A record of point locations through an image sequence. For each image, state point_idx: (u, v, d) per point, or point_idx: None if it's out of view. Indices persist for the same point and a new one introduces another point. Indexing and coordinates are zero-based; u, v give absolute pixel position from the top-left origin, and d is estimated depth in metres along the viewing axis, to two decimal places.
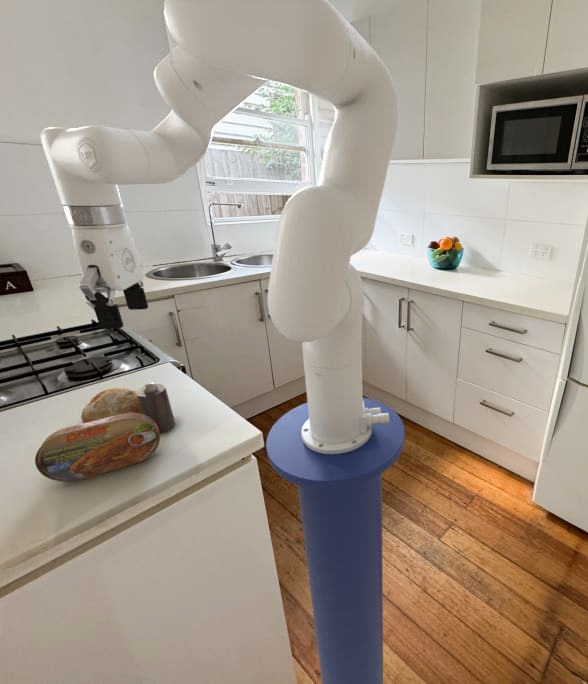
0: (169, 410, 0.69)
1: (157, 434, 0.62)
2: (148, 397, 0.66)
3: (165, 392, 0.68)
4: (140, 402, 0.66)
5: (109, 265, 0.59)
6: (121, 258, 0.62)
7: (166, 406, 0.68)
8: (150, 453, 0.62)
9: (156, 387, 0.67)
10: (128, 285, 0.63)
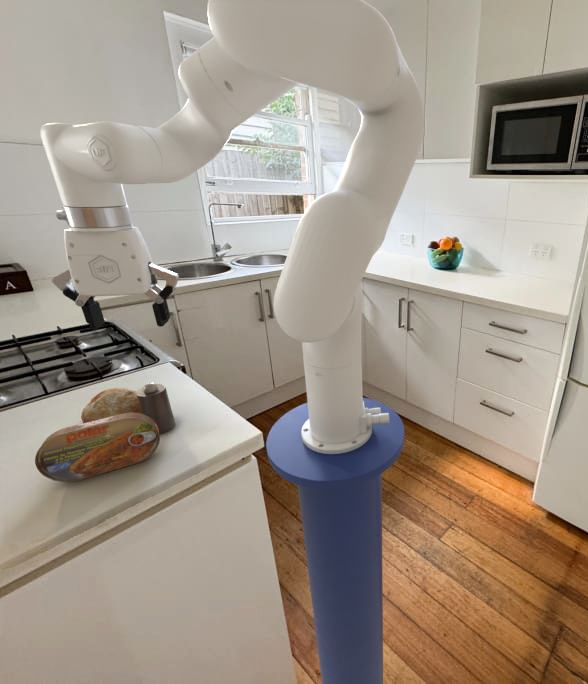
0: (169, 410, 0.69)
1: (157, 434, 0.62)
2: (148, 397, 0.66)
3: (165, 392, 0.68)
4: (140, 402, 0.66)
5: (69, 267, 0.57)
6: (88, 264, 0.56)
7: (166, 406, 0.68)
8: (150, 453, 0.62)
9: (156, 387, 0.67)
10: (95, 293, 0.58)
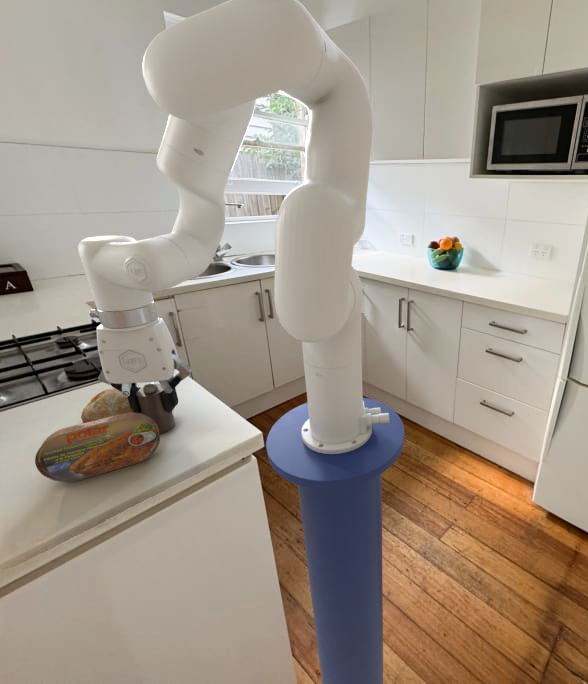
0: None
1: (157, 434, 0.62)
2: (148, 397, 0.66)
3: None
4: (140, 402, 0.66)
5: (100, 360, 0.61)
6: (117, 357, 0.61)
7: None
8: (150, 453, 0.62)
9: (156, 387, 0.67)
10: (124, 381, 0.63)
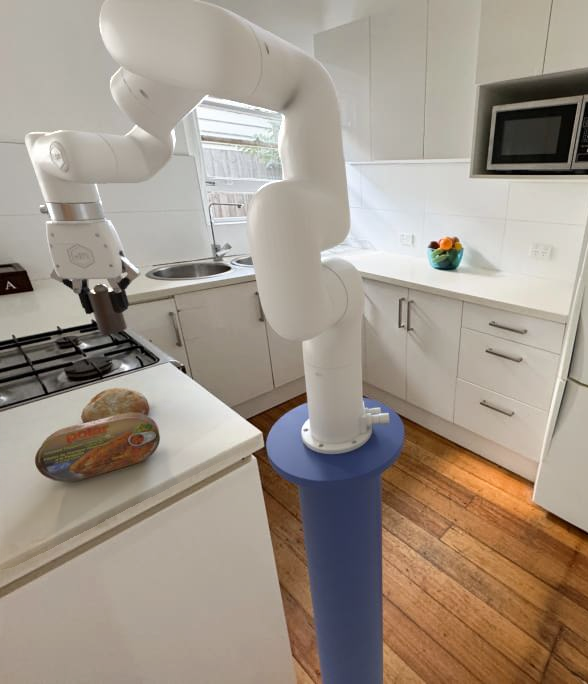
0: None
1: (157, 434, 0.62)
2: (97, 295, 0.71)
3: None
4: (90, 300, 0.71)
5: (50, 254, 0.66)
6: (66, 251, 0.66)
7: None
8: (150, 453, 0.62)
9: (106, 288, 0.72)
10: (73, 276, 0.68)
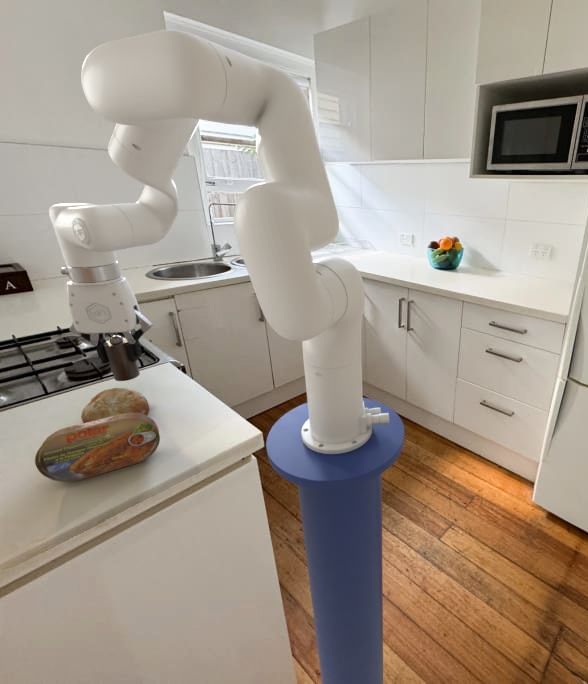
0: None
1: (157, 434, 0.62)
2: (113, 346, 0.75)
3: None
4: (106, 351, 0.76)
5: (70, 311, 0.71)
6: (85, 309, 0.71)
7: None
8: (150, 453, 0.62)
9: (121, 339, 0.77)
10: (91, 331, 0.73)
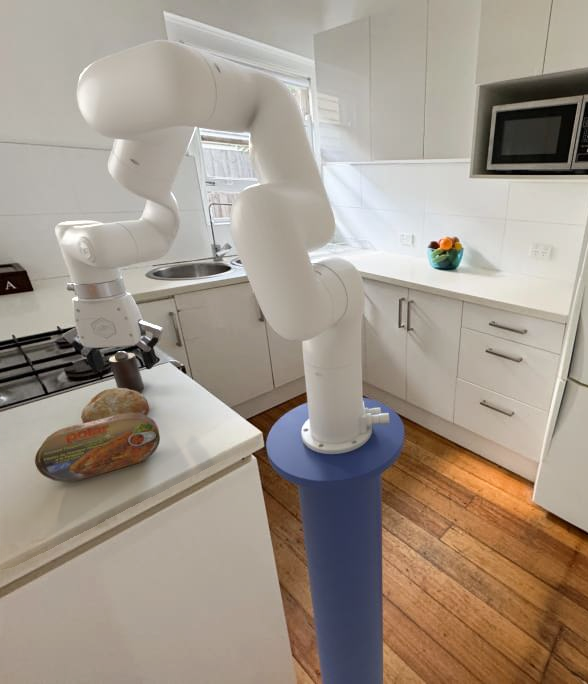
0: (138, 375, 0.81)
1: (157, 434, 0.62)
2: (118, 362, 0.77)
3: (134, 359, 0.79)
4: (112, 367, 0.77)
5: (76, 327, 0.72)
6: (90, 324, 0.72)
7: (135, 371, 0.80)
8: (150, 453, 0.62)
9: (126, 354, 0.79)
10: (97, 346, 0.74)
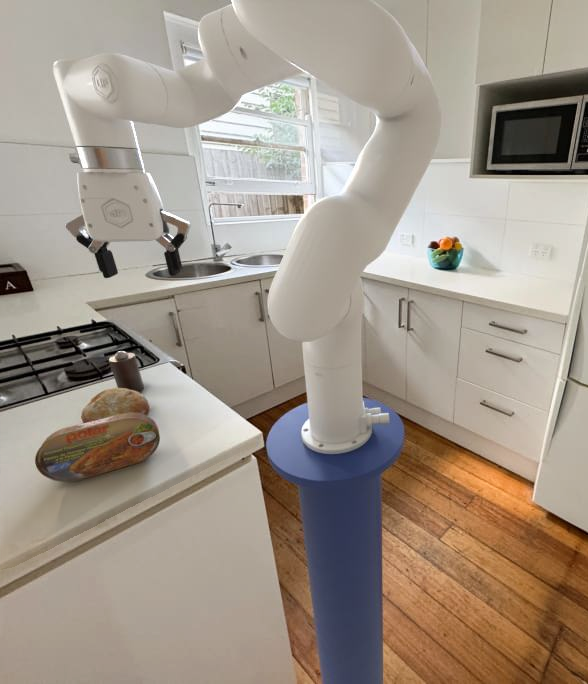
0: (138, 375, 0.81)
1: (157, 434, 0.62)
2: (118, 362, 0.77)
3: (134, 359, 0.79)
4: (112, 367, 0.77)
5: (82, 211, 0.57)
6: (100, 207, 0.56)
7: (135, 371, 0.80)
8: (150, 453, 0.62)
9: (126, 354, 0.79)
10: (108, 238, 0.58)
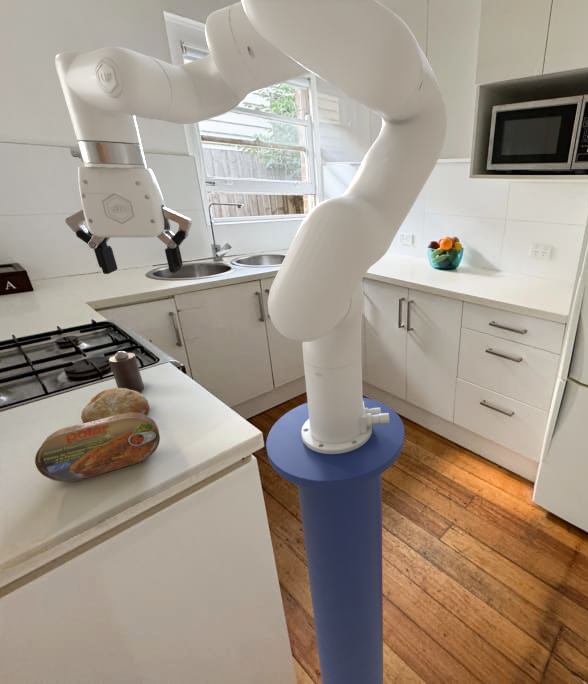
0: (138, 375, 0.81)
1: (157, 434, 0.62)
2: (118, 362, 0.77)
3: (134, 359, 0.79)
4: (112, 367, 0.77)
5: None
6: (101, 203, 0.56)
7: (135, 371, 0.80)
8: (150, 453, 0.62)
9: (126, 354, 0.79)
10: (109, 234, 0.58)
